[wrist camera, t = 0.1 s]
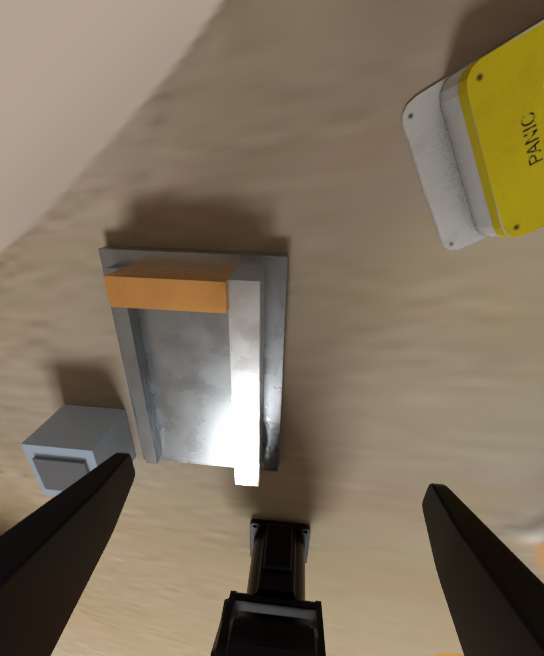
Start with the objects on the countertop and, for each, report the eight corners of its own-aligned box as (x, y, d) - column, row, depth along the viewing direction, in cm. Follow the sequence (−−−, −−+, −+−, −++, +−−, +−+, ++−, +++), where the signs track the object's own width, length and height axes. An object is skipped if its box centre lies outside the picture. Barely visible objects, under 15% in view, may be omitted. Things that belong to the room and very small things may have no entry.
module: (136, 455, 31) (106, 504, 26) (80, 449, 31) (40, 497, 26) (125, 408, 28) (90, 454, 24) (65, 403, 29) (17, 447, 24)
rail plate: (278, 462, 29) (275, 501, 26) (148, 450, 30) (127, 486, 27) (288, 253, 21) (285, 267, 17) (106, 246, 22) (67, 258, 18)
